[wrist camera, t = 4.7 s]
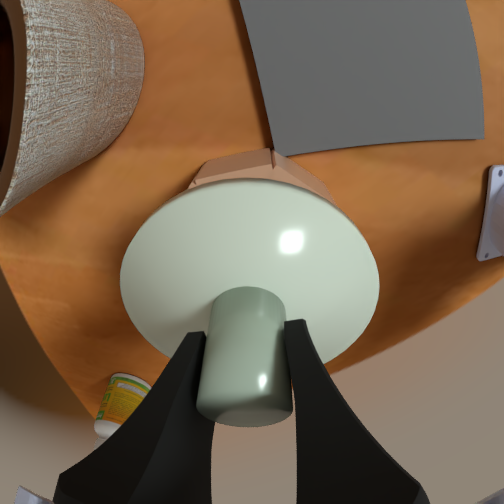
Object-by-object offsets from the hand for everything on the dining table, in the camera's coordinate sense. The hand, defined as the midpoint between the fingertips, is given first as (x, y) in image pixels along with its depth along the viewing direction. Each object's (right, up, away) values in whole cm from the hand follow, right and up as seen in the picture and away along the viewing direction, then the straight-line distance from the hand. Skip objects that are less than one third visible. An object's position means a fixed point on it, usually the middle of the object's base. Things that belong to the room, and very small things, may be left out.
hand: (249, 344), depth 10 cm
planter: (-11, +14, +3) cm, 18 cm away
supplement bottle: (-14, -12, +19) cm, 27 cm away
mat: (+7, +16, +1) cm, 17 cm away
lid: (0, +1, +1) cm, 2 cm away
